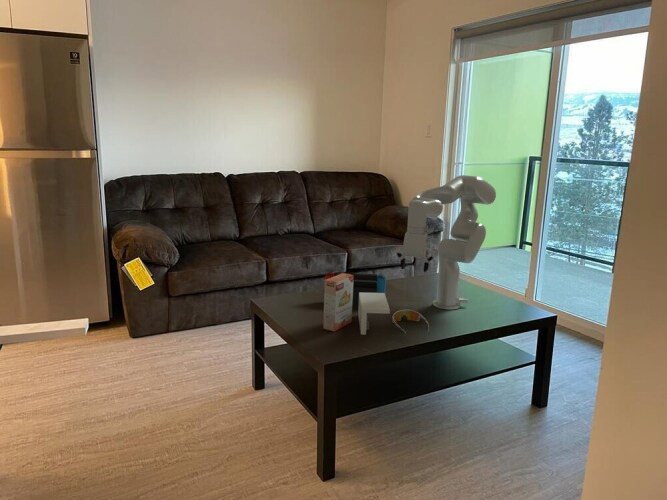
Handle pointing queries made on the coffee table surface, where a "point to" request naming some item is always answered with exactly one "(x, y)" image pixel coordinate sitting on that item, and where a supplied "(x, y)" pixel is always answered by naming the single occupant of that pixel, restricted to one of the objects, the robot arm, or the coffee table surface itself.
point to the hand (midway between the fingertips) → (414, 269)
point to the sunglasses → (407, 316)
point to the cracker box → (338, 301)
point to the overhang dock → (371, 308)
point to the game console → (364, 284)
